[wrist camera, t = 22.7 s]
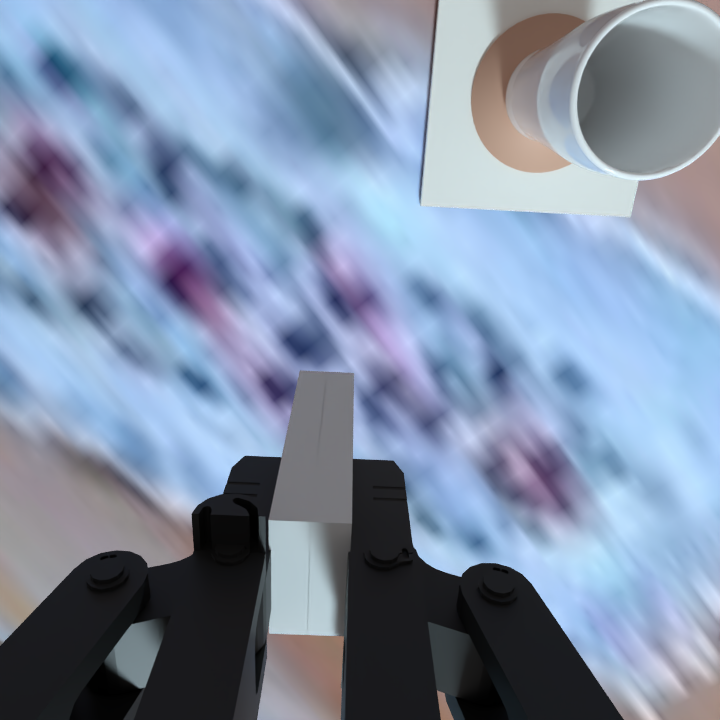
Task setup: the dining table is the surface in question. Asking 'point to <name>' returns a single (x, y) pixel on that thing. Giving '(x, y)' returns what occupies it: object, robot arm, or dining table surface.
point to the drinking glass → (625, 90)
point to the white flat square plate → (503, 114)
